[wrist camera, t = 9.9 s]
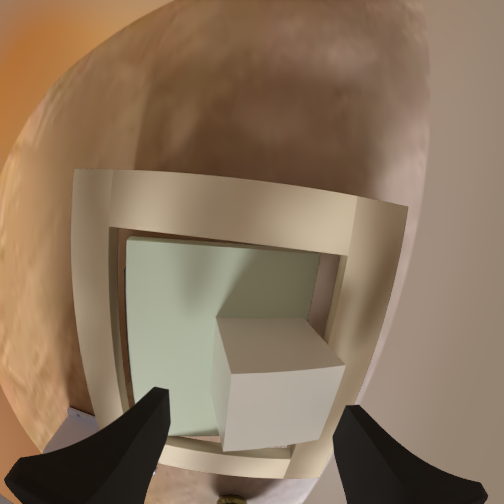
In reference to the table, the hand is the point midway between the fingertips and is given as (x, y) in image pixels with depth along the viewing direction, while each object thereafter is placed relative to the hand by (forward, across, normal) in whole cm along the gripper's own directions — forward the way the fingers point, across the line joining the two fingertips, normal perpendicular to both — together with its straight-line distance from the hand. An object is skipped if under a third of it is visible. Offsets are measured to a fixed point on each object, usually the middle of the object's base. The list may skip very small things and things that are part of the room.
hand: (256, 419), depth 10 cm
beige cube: (+4, 0, 0) cm, 4 cm away
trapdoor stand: (+10, +2, 0) cm, 10 cm away
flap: (+7, +3, 0) cm, 8 cm away
